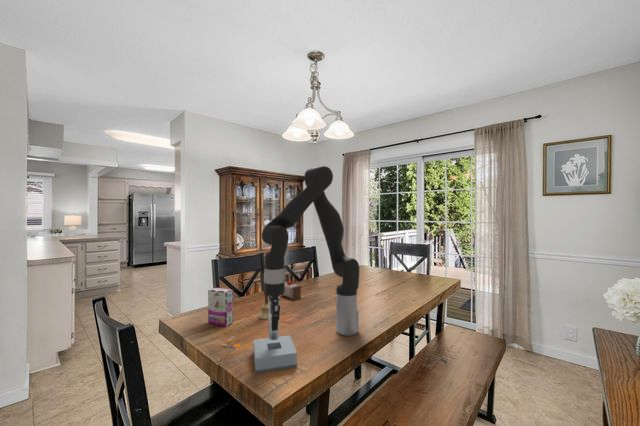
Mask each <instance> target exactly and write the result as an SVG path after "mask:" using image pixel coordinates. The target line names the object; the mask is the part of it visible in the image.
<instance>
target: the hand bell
mask: <svg viewBox="0 0 640 426" xmlns="http://www.w3.org/2000/svg"><path fill="white" fill-rule="evenodd" d="M263 295H264V304H263V305H262V306H261V312H260V313H259V314H258V316H257V317H258V319H260V320H269V302H268V298H269V296H267V295H265V294H264V293H263Z"/></svg>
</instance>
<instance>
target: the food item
mask: <svg viewBox="0 0 640 426" xmlns="http://www.w3.org/2000/svg"><path fill="white" fill-rule="evenodd" d="M301 287H302V286H301V285H299V284H296V283H295V281H292V280H291V281H285V293H284V294H282V295H281V296H283V297H286V298H288V299H291V300H292V301H295V300H300V299H302V298H301V297H302V295H301V294H302V291H301V290H302V288H301Z"/></svg>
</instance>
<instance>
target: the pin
mask: <svg viewBox="0 0 640 426" xmlns="http://www.w3.org/2000/svg"><path fill="white" fill-rule="evenodd" d="M275 316H277V315H274V317H275ZM279 323H280V319H279V320H278V330H276V331H272V329H271V324H272V320H271V313H270V305H269V319H268V338H269V339H270V340H277V339H278V338H279V337H280V335H279V333H280V331H279V328H280V324H279Z"/></svg>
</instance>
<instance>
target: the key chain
mask: <svg viewBox="0 0 640 426" xmlns="http://www.w3.org/2000/svg"><path fill="white" fill-rule="evenodd" d="M233 337H234V336H229V338H228V339H227V340H226V342H225V343H222V342H218V344H219V345H220V346H221V347H224V348H225V350H226V352H227V353H230V352H234V351H236V350H237V349H236V348H239V347H241V344H240V343H235V344H234V345H233V344H230V343H228V342H231V341H233ZM231 347H232V348H233V349H232V350H229V348H231Z"/></svg>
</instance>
